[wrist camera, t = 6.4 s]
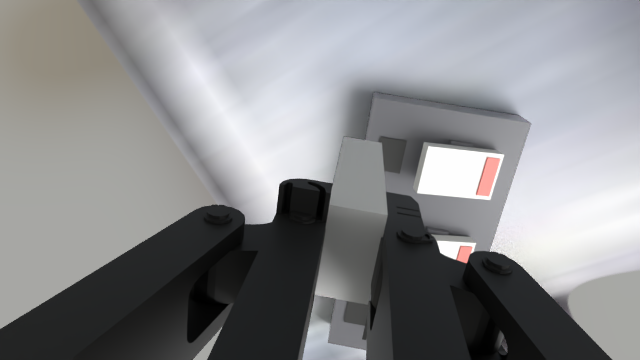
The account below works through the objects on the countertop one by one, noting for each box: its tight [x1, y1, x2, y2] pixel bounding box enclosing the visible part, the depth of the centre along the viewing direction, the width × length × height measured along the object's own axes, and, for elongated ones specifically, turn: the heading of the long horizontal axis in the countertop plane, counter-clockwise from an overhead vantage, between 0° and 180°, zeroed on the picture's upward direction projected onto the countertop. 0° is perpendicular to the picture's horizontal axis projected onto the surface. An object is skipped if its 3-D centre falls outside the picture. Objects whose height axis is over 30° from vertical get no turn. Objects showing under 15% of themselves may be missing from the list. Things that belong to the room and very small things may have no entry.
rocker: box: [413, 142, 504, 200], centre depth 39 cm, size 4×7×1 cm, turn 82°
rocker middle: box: [431, 234, 476, 263], centre depth 42 cm, size 4×7×1 cm, turn 82°
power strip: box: [328, 92, 531, 350], centre depth 45 cm, size 28×14×4 cm, turn 172°
